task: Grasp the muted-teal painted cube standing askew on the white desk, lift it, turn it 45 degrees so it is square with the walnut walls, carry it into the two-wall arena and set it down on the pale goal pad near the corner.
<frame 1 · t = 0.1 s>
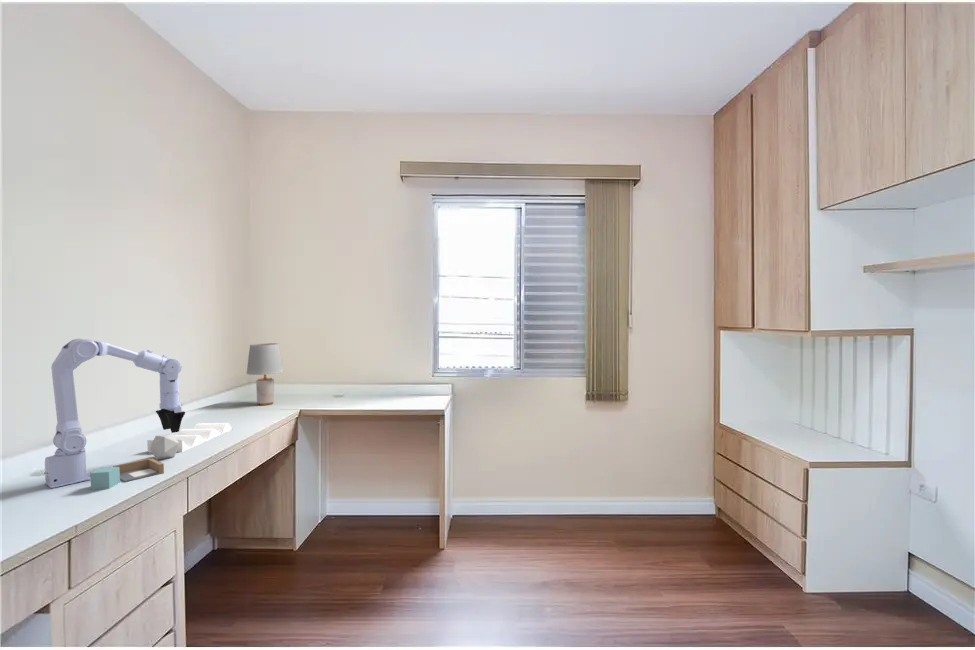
hand: (171, 430, 173), 10 cm above the table, fingers open, 7 cm apart
cube: (105, 486, 146), on the table
lamp: (266, 404, 277), on the table
file organizer: (194, 441, 199), on the table
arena: (138, 474, 157), on the table
die: (165, 458, 175), on the table
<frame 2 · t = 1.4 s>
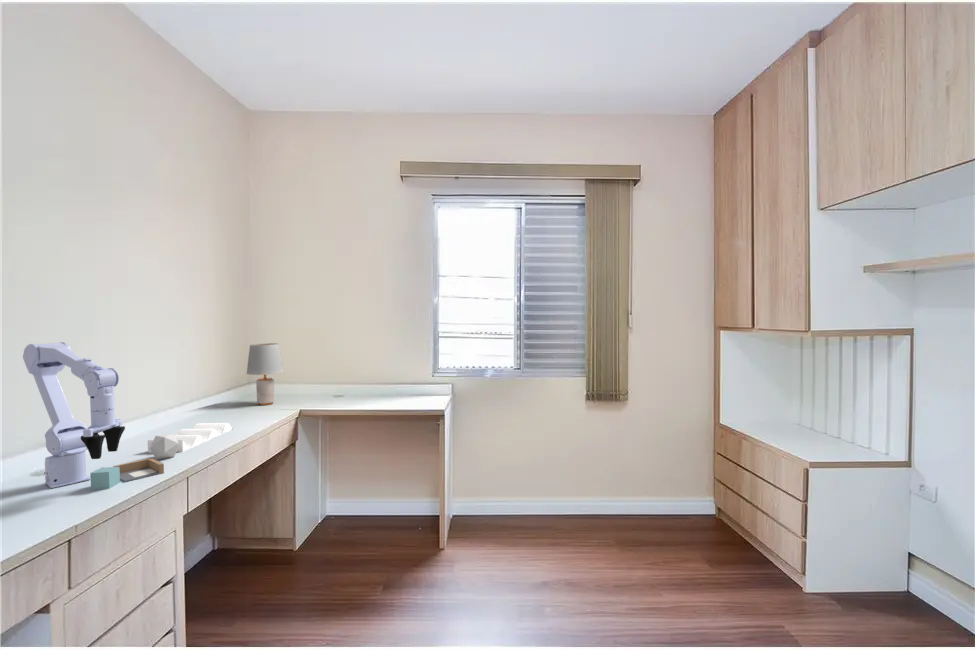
hand: (104, 454, 146), 9 cm above the table, fingers open, 7 cm apart
nothing on the table moved.
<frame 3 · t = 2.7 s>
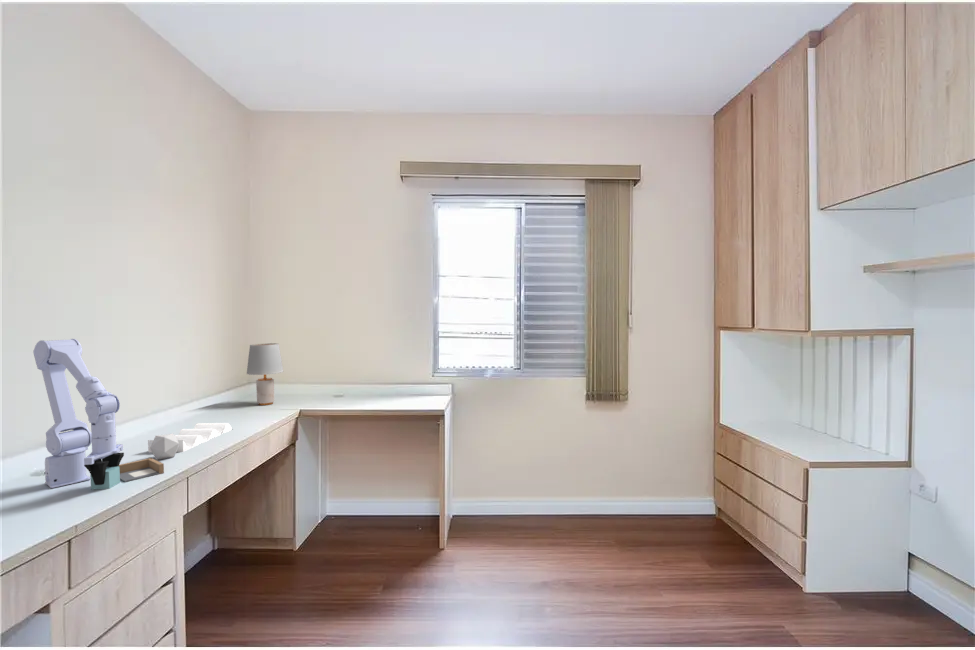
hand: (105, 481, 146), 1 cm above the table, fingers closed on cube, 5 cm apart
cube: (105, 486, 146), on the table, touching gripper
everything else where it was.
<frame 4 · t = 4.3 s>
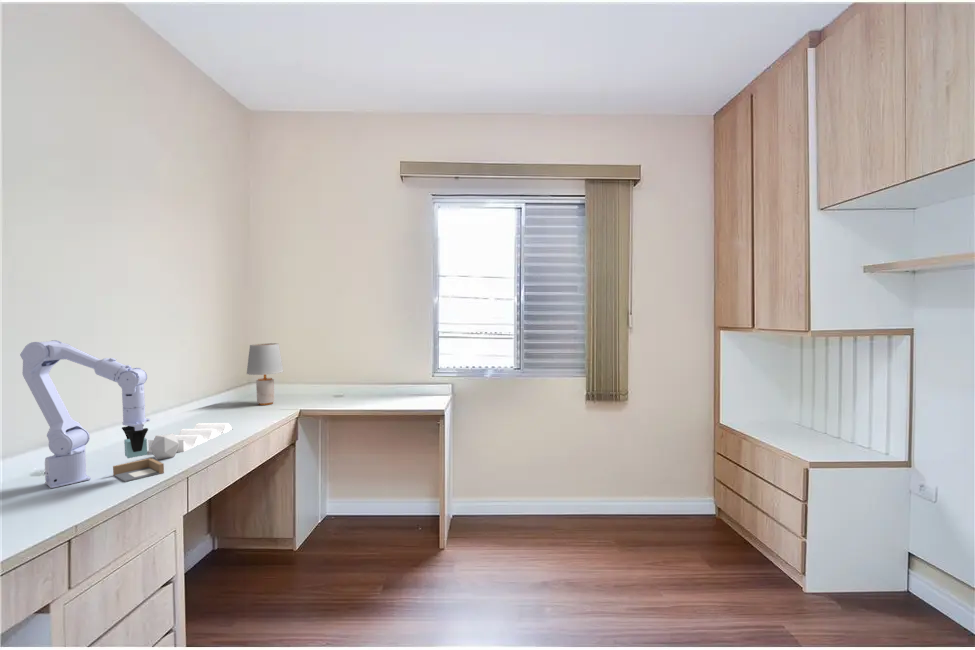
hand: (135, 449, 154), 8 cm above the table, fingers closed on cube, 5 cm apart
cube: (136, 455, 154), point 7 cm above the table, touching gripper
everything else where it was.
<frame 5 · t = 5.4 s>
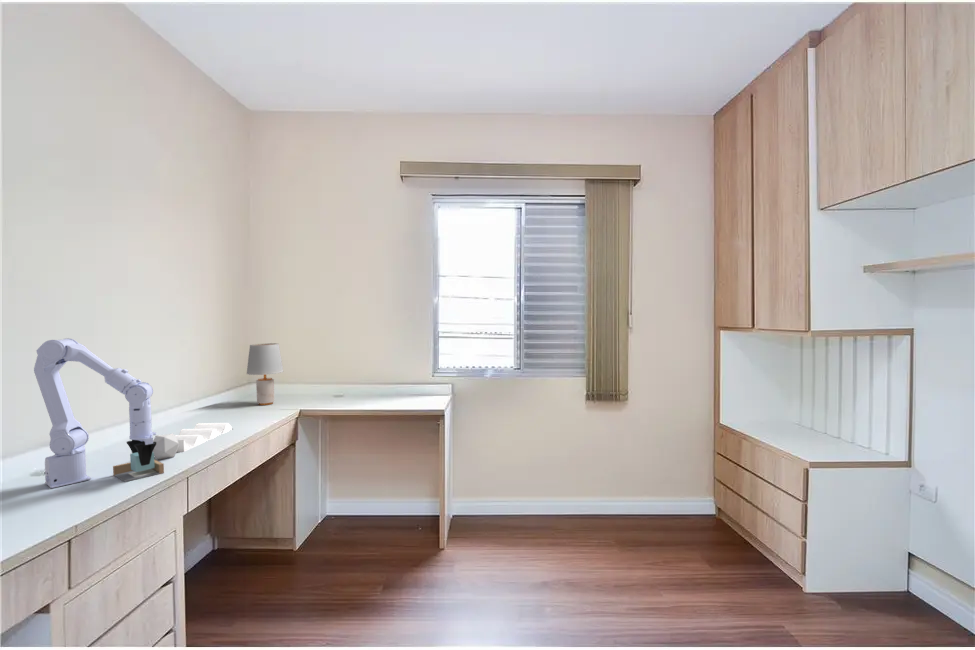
hand: (142, 463, 156), 3 cm above the table, fingers closed on cube, 5 cm apart
cube: (142, 468, 157), point 2 cm above the table, touching gripper
everything else where it was.
when the fingers open (3 cm above the table, at t = 6.3 s): cube drops 1 cm, resting on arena.
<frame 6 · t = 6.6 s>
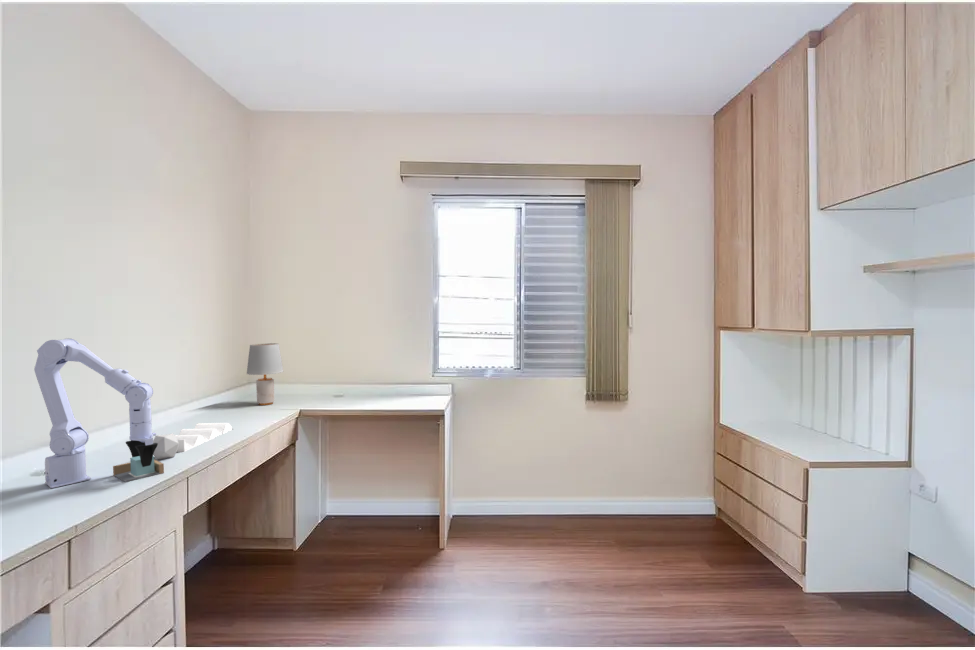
hand: (142, 463, 156), 3 cm above the table, fingers open, 7 cm apart
cube: (142, 472, 157), resting on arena
everything else where it was.
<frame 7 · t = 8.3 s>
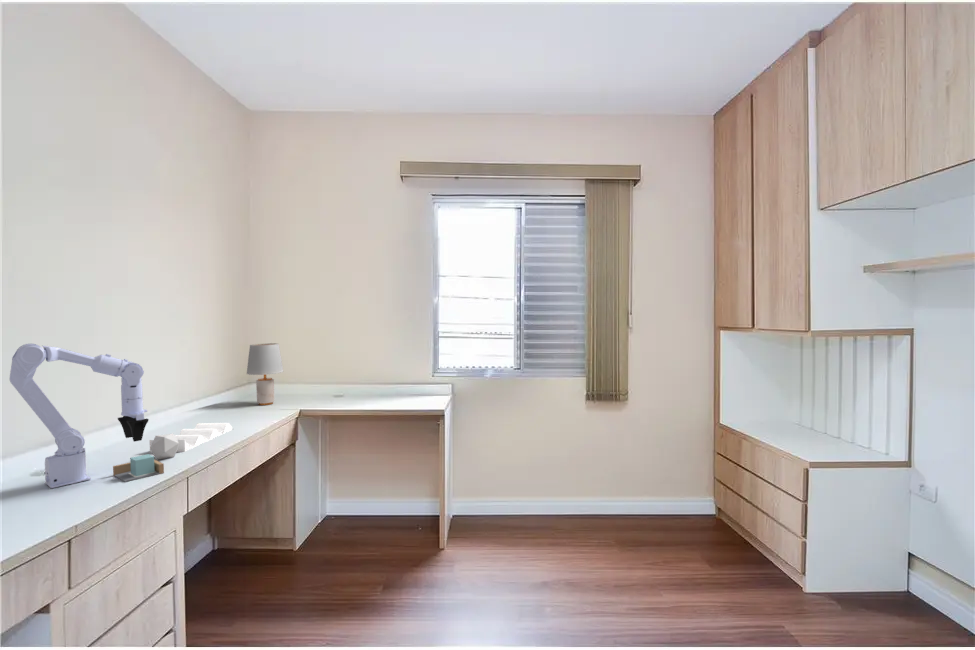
hand: (133, 439, 162), 10 cm above the table, fingers open, 7 cm apart
nothing on the table moved.
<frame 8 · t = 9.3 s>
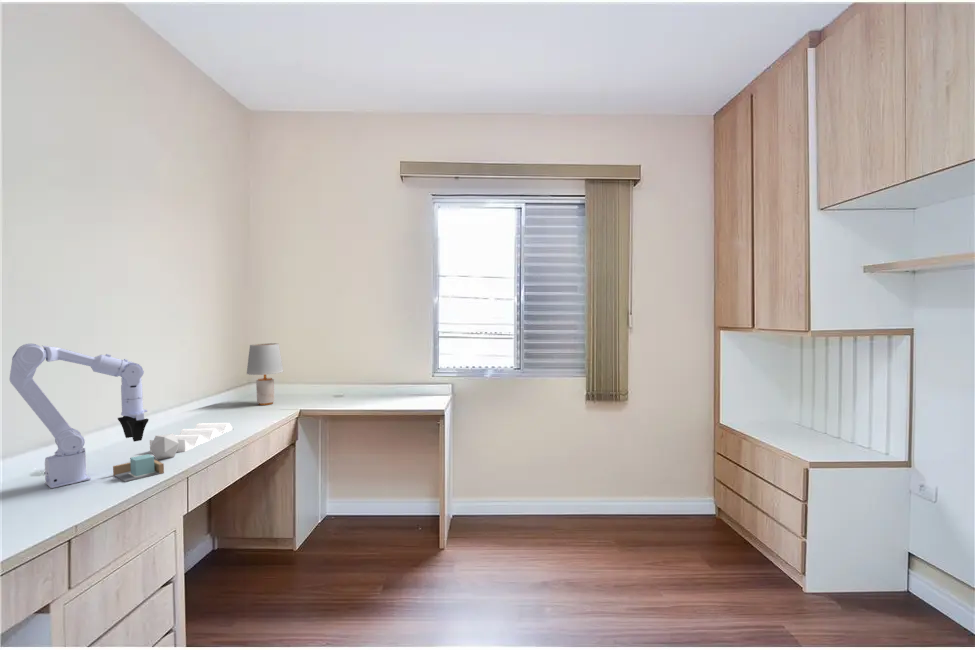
hand: (133, 439, 162), 10 cm above the table, fingers open, 7 cm apart
nothing on the table moved.
at the end: cube 0.0 cm from the target spot, resting on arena; cube tilted 0°; the gripper is holding nothing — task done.
